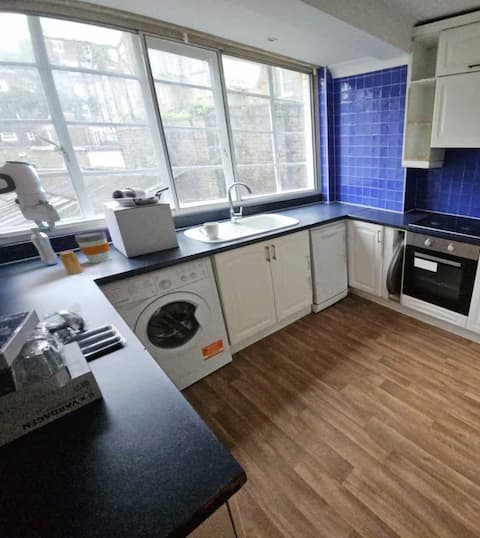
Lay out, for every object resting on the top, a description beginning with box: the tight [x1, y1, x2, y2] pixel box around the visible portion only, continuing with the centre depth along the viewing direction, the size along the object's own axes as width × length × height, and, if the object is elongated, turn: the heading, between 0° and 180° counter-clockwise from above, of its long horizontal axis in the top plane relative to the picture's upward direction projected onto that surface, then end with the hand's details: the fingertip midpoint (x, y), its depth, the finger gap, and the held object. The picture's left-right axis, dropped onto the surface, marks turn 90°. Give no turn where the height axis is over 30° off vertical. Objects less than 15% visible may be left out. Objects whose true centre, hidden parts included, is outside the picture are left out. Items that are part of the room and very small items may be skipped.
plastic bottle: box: [29, 226, 60, 266], centre depth 154 cm, size 6×7×20 cm
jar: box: [59, 250, 84, 276], centre depth 145 cm, size 6×6×10 cm
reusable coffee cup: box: [74, 230, 111, 264], centre depth 159 cm, size 13×13×15 cm
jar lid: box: [37, 225, 58, 234], centre depth 135 cm, size 6×6×2 cm
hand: (48, 230), depth 135 cm, fingers closed on jar lid, 6 cm apart
